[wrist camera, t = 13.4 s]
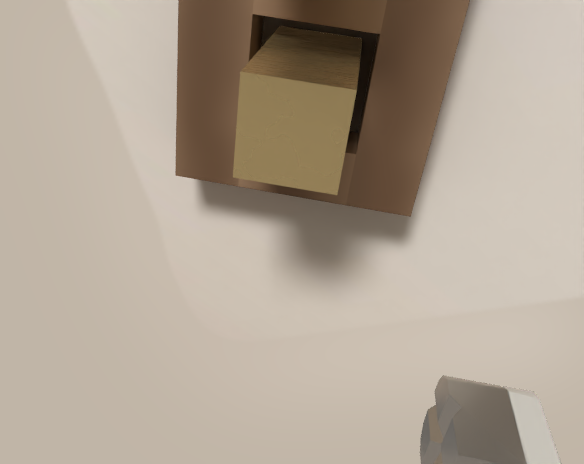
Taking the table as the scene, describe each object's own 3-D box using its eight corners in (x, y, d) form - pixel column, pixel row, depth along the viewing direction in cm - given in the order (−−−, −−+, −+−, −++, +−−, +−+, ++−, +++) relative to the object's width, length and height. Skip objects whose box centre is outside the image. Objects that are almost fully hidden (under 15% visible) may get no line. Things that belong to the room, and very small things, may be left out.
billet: (362, 38, 26) (356, 90, 18) (347, 118, 28) (337, 195, 20) (280, 25, 26) (240, 71, 19) (271, 106, 28) (232, 177, 21)
